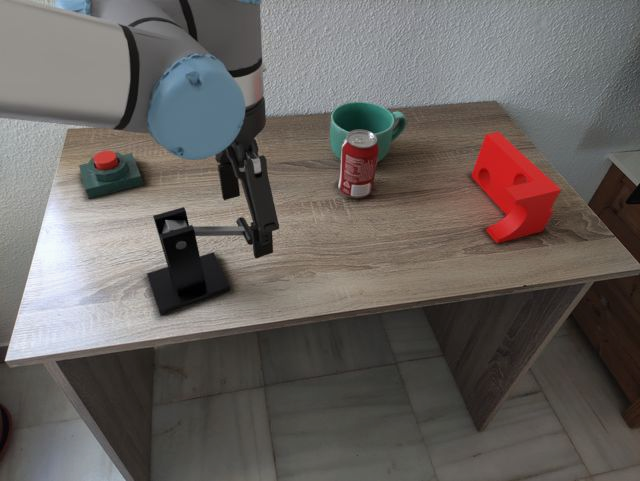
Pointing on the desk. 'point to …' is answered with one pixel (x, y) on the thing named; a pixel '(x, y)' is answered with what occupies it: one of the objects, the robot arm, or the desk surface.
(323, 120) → the desk surface
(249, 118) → the robot arm
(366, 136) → the soda can
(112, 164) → the button
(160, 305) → the bracket
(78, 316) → the desk surface
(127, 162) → the button box
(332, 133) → the mug
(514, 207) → the bracket
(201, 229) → the lever
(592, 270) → the desk surface
